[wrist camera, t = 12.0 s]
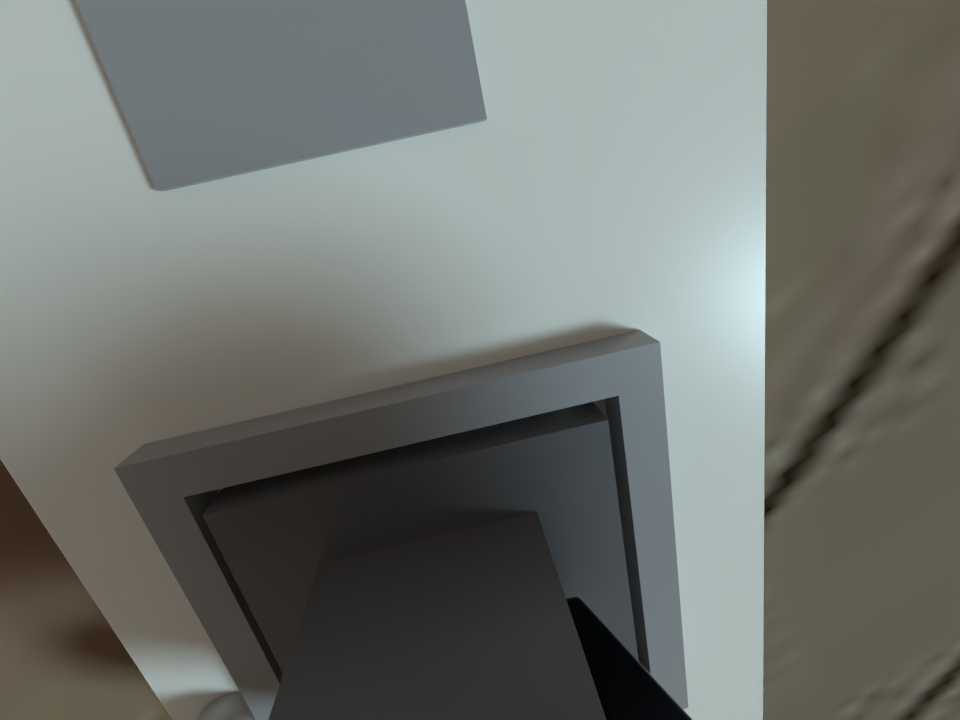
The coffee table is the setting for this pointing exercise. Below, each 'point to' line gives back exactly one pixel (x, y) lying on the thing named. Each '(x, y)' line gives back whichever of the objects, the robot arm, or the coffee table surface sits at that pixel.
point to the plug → (437, 573)
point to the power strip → (383, 288)
